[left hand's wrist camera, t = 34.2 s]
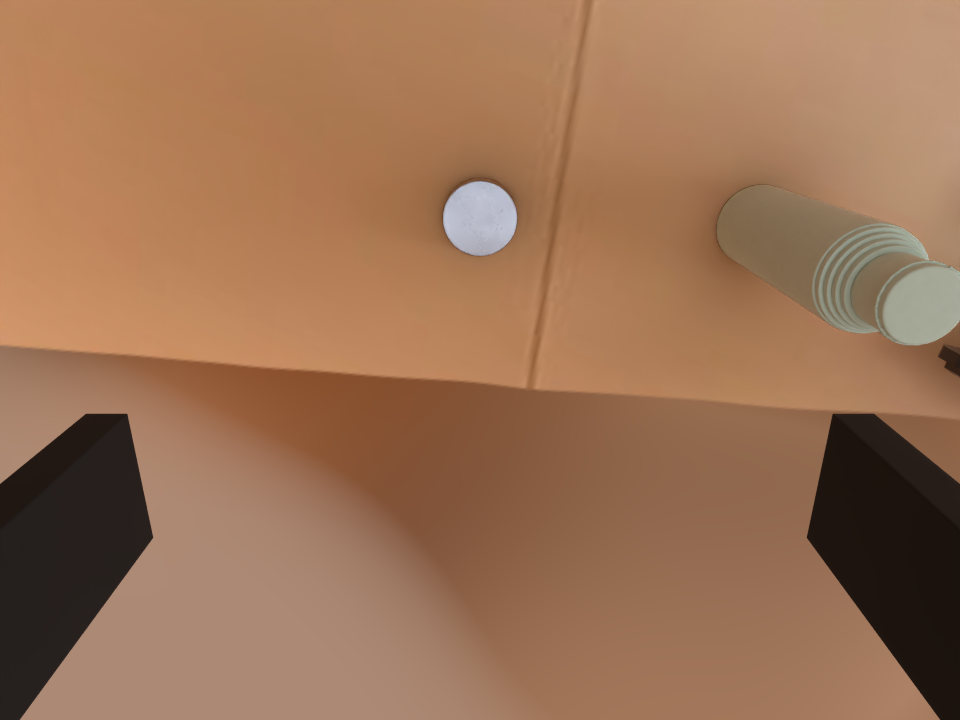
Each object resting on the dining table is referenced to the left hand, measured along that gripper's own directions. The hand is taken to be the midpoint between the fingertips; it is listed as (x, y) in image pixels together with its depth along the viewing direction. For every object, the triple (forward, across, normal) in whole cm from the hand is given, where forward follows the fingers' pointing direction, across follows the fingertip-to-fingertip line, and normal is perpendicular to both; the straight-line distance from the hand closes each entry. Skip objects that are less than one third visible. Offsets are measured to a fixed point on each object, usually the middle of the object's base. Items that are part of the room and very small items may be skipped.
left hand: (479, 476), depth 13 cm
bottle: (+30, +17, -1) cm, 35 cm away
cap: (+29, 0, 0) cm, 29 cm away
